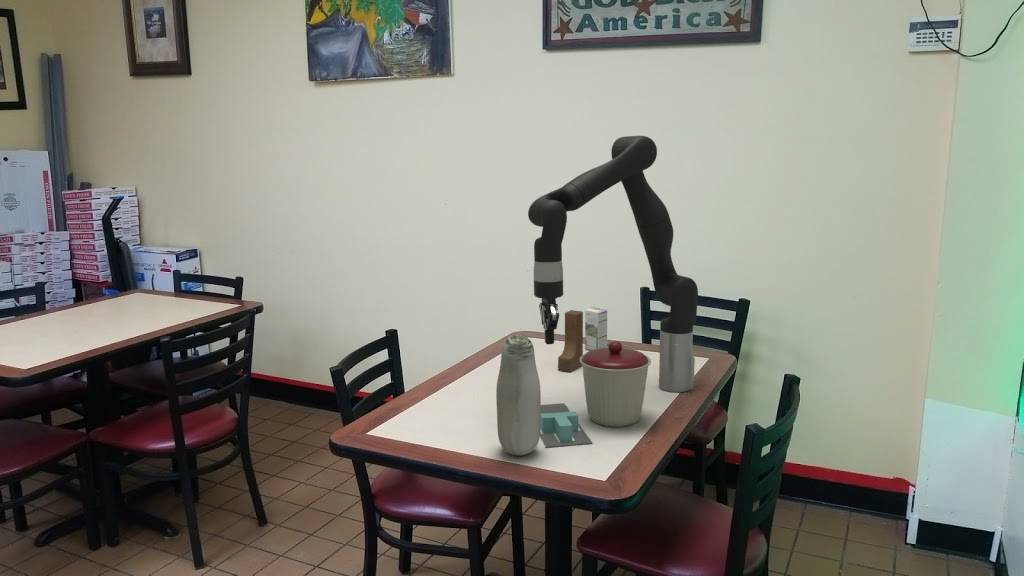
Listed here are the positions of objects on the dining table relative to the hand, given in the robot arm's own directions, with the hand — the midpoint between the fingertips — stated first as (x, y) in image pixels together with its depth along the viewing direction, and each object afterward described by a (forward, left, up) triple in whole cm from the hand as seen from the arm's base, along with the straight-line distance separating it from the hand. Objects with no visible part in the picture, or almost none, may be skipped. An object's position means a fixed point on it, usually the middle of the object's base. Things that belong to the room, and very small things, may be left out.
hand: (549, 343), depth 194 cm
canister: (-16, +7, -20) cm, 26 cm away
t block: (0, +14, -19) cm, 24 cm away
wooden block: (-16, -39, -20) cm, 47 cm away
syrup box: (-30, -58, -20) cm, 68 cm away
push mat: (0, +7, -20) cm, 21 cm away
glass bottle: (+12, +22, -20) cm, 32 cm away
